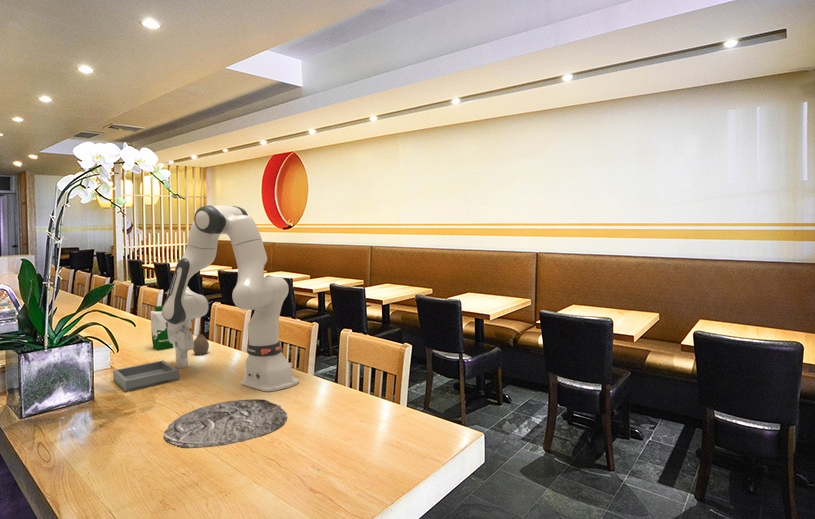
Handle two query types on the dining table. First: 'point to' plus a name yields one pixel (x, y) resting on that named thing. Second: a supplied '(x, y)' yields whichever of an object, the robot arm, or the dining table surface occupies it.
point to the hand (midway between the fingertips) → (181, 356)
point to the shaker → (180, 361)
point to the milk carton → (159, 330)
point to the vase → (200, 345)
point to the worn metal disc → (225, 423)
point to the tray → (145, 375)
